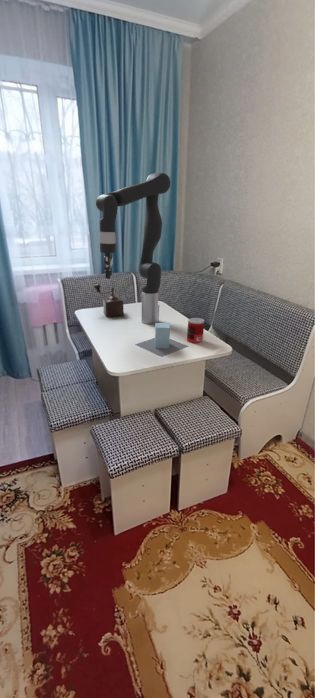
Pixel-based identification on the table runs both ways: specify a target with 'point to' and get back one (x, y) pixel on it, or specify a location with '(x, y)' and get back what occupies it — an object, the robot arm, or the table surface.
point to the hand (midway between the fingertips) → (108, 276)
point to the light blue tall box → (162, 335)
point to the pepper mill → (111, 303)
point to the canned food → (195, 330)
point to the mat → (161, 352)
